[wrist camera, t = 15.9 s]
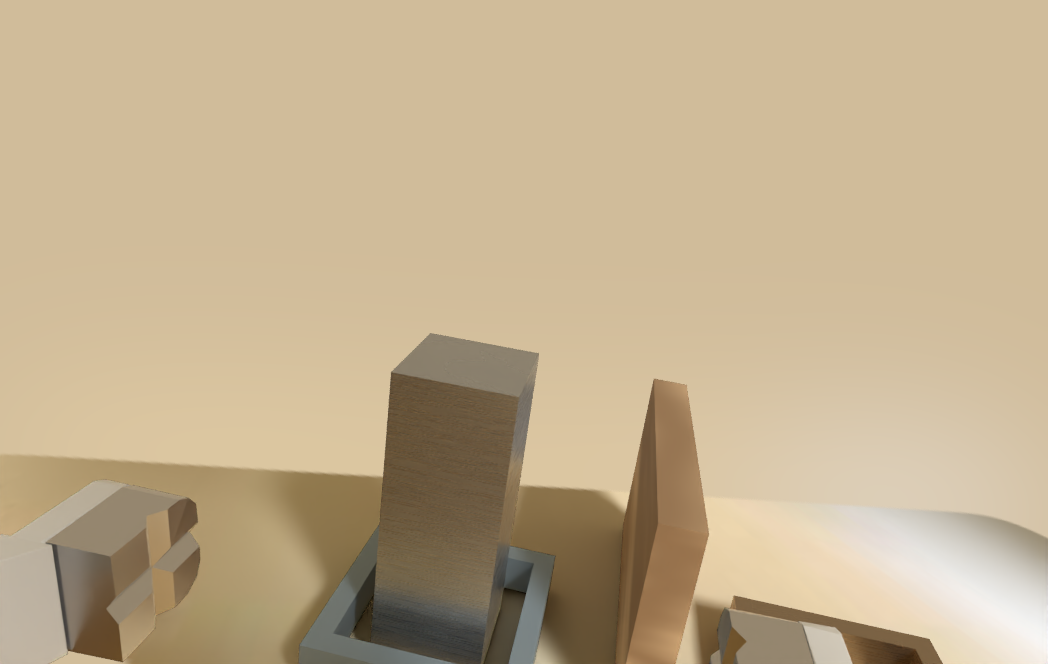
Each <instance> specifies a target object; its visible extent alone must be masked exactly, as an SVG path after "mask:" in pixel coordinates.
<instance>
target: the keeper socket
mask: <svg viewBox="0 0 1048 664" xmlns="http://www.w3.org/2000/svg"><path fill="white" fill-rule="evenodd" d="M379 525H380V524H379ZM379 525H378V527H377V528H376V530H375V531H374V533H373V534H372V536H371V538H370V539H369V541H368V542H367V544H366V545H365V547H364V548H363V550H362V551H361V553H360V554H359V556H358V557H357V559H356V560H355V562H354V563H353V565H352V566H351V568H350V569H349V571H348V572H347V574H346V575H345V577H344V578H343V580H342V581H341V583H340V584H339V586H338V587H337V589H336V590H335V592H334V593H333V595H332V596H331V598H330V600H329V601H328V603H327V604H326V606H325V607H324V609H323V610H322V612H321V613H320V615H319V616H318V618H317V619H316V621H315V622H314V624H313V625H312V627H311V628H310V630H309V631H308V633H307V634H306V636H305V637H304V639H303V640H302V642H301V643H300V645H299V664H455V663H451V662H447V661H443V660H439V659H435V658H430V657H426V656H422V655H418V654H414V653H410V652H406V651H402V650H398V649H394V648H390V647H386V646H382V645H378V644H374V643H370V642H365V641H361V640H357V639H353V638H349V636H350V634H351V632H352V631H353V629H354V627H355V626H356V624H357V622H358V620H359V619H360V617H361V615H362V613H363V612H364V610H365V608H366V606H367V605H368V603H369V601H370V599H371V598H372V596H373V594H374V590H375V577H376V564H377V551H378V538H379ZM554 561H555V556H553V555H549V554H544V553H540V552H535V551H531V550H526V549H522V548H517V547H513V546H510V550H509V556H508V563H507V570H506V576H505V583H504V588H508V589H513V590H517V591H521V592H526V596H525V600H524V604H523V608H522V612H521V616H520V620H519V624H518V628H517V632H516V636H515V640H514V644H513V648H512V651H511V655H510V659H509V663H508V664H534V661H535V657H536V652H537V647H538V642H539V637H540V633H541V628H542V623H543V618H544V613H545V608H546V604H547V599H548V594H549V589H550V584H551V578H552V573H553V567H554Z"/></svg>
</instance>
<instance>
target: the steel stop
mask: <svg viewBox="0 0 1048 664" xmlns="http://www.w3.org/2000/svg"><path fill="white" fill-rule="evenodd" d="M538 357H539V354H538V353H533V352H528V351H523V350H517V349H512V348H506V347H501V346H496V345H491V344H485V343H480V342H475V341H469V340H464V339H458V338H453V337H448V336H443V335H437V334H431V333H430V334H429V335H428V336H427V337H426V338H425V339H424V340H423V341H422V342H421V343H420V344H419V345H418V346H417V347H416V348H415V349H414V350H413V351H412V352H411V353H410V354H409V355H408V356H407V357H406V358H405V359H404V360H403V361H402V362H401V363H400V364H399V365H398V366H397V367H396V368H395V369H394V370H393V371H392V372H391V382H390V395H389V408H388V421H387V435H386V447H385V460H384V473H383V486H382V499H381V512H380V525H379V538H378V551H377V564H376V577H375V590H374V603H373V616H372V629H371V642H370V643H374V644H378V645H382V646H386V647H390V648H394V649H398V650H402V651H406V652H410V653H414V654H418V655H422V656H426V657H430V658H435V659H439V660H443V661H447V662H451V663H455V664H484V661H485V657H486V654H487V651H488V647H489V644H490V641H491V637H492V634H493V631H494V627H495V624H496V621H497V617H498V614H499V611H500V607H501V603H502V596H503V590H504V583H505V576H506V570H507V563H508V556H509V550H510V543H511V537H512V530H513V523H514V517H515V510H516V503H517V497H518V490H519V484H520V477H521V470H522V464H523V457H524V450H525V444H526V437H527V431H528V424H529V417H530V411H531V404H532V398H533V391H534V384H535V378H536V371H537V364H538Z"/></svg>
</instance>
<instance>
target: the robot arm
mask: <svg viewBox="0 0 1048 664" xmlns="http://www.w3.org/2000/svg"><path fill="white" fill-rule="evenodd" d="M197 523H198V518H197V509H196V503H194V502H193V501H192V500H191V499H189V498H187V497H182V496H178V495H174V494H169V493H165V492H161V491H156V490H152V489H148V488H143V487H139V486H135V485H132V486H131V485H128V484H124V483H120V482H115V481H110V480H106V479H105V480H97V481H93V482H92V483H90V484H88V485H87V486H85V487H84V488H82V489H81V490H79V491H78V492H76V493H75V494H73V495H72V496H70V497H69V498H67V499H66V500H64V501H63V502H61V503H60V504H58V505H57V506H55V507H54V508H52V509H51V510H49V511H48V512H46V513H45V514H43V515H42V516H40V517H39V518H37V519H36V520H34V521H33V522H31V523H29V524H28V525H26V526H25V527H23V528H22V529H20V530H19V531H17V532H16V533H14V534H13V535H11V536H9V535H4V534H0V664H50V663H52V662H54V661H56V660H58V659H59V658H61V657H63V656H65V655H67V654H68V651H72V652H76V653H81V654H86V655H91V656H96V657H101V658H105V659H110V660H115V661H120V662H123V661H124V660H125V659H126V658H127V657H128V656H129V655H130V654H131V653H132V652H133V651H134V650H135V649H136V648H137V647H138V646H139V645H140V644H141V643H142V642H143V641H144V640H145V639H146V638H147V636H148V635H149V634H150V633H151V632H152V631H153V630H154V629H155V621H156V615H159V614H161V613H163V612H166V611H168V610H170V609H172V608H175V607H176V606H177V605H178V604H179V603H180V602H181V600H182V599H183V598H184V597H185V596H186V595H187V594H188V592H189V590H190V588H191V586H192V584H193V582H194V580H195V578H196V576H197V573H198V568H199V563H200V547H199V545H198V543H197V542H196V541H195V539H194V538H193V536H192V535H191V533H190V531H191V530H192V529H193V527H194V526H195V525H196V524H197ZM717 633H718V642H719V650H718V651H716V652H715V653H713V654H712V655H711V657H710V662H709V664H853V663H852V661H851V658H850V655H849V653H848V650H847V647H846V645H845V642H844V639H843V637H842V634H841V633H840V632H839V631H838V630H837V629H836V628H835V627H829V626H824V625H818V624H813V623H807V622H801V621H798V622H795V621H790V620H785V619H780V618H775V617H770V616H765V615H760V614H755V613H750V612H745V611H740V610H735V609H730V608H724V610H723V612H722V615H721V617H720V621H719V625H718V629H717Z"/></svg>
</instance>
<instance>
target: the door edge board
mask: <svg viewBox="0 0 1048 664" xmlns="http://www.w3.org/2000/svg"><path fill="white" fill-rule="evenodd" d="M708 536H709V531H708V524H707V518H706V511H705V504H704V498H703V492H702V485H701V478H700V471H699V465H698V458H697V451H696V445H695V438H694V431H693V426H692V419H691V412H690V405H689V398H688V391H687V385H684V384H679V383H674V382H668V381H663V380H658V379H654V381H653V386H652V391H651V395H650V400H649V405H648V410H647V414H646V419H645V424H644V429H643V434H642V438H641V444H640V448H639V452H638V457H637V462H636V467H635V472H634V476H633V481H632V486H631V490H630V495H629V500H628V505H627V509H626V514H625V519H624V524H623V537H622V554H621V572H620V589H619V606H618V623H617V641H616V658H615V664H675V663H676V659H677V655H678V652H679V648H680V644H681V640H682V636H683V632H684V628H685V625H686V621H687V617H688V613H689V609H690V605H691V601H692V598H693V594H694V590H695V586H696V582H697V578H698V574H699V571H700V567H701V563H702V559H703V555H704V551H705V547H706V544H707V540H708Z"/></svg>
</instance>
